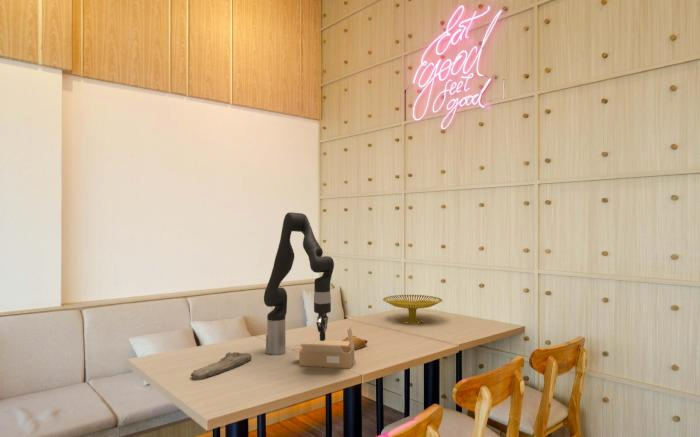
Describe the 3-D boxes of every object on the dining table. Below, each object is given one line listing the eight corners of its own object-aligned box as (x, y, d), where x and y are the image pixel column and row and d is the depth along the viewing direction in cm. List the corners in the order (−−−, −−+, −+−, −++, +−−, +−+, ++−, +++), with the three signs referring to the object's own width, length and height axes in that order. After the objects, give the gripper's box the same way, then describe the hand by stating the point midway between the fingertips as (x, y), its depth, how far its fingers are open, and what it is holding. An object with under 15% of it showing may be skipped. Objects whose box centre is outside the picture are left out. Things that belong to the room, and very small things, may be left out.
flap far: (351, 351, 209) (347, 329, 210) (353, 346, 216) (349, 326, 217) (352, 350, 209) (348, 329, 210) (354, 346, 216) (350, 326, 217)
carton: (290, 365, 211) (290, 350, 212) (302, 353, 231) (302, 339, 231) (350, 368, 207) (350, 352, 207) (356, 355, 227) (356, 341, 227)
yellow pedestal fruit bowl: (371, 323, 302) (371, 300, 302) (400, 313, 334) (400, 292, 334) (426, 331, 278) (426, 306, 278) (452, 319, 311) (452, 297, 311)
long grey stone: (184, 381, 196) (201, 386, 191) (184, 369, 195) (201, 374, 190) (241, 356, 226) (256, 360, 221) (241, 345, 226) (256, 349, 221)
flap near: (305, 350, 210) (300, 343, 202) (343, 352, 207) (339, 345, 199) (305, 351, 210) (300, 344, 202) (343, 353, 207) (339, 346, 199)
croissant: (335, 359, 233) (338, 347, 230) (326, 346, 241) (329, 334, 237) (369, 352, 244) (373, 340, 241) (360, 340, 251) (363, 328, 248)
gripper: (317, 298, 208) (317, 336, 208) (310, 303, 195) (310, 344, 195) (333, 299, 207) (333, 337, 207) (327, 304, 194) (327, 344, 194)
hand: (322, 340), depth 201 cm, fingers closed
